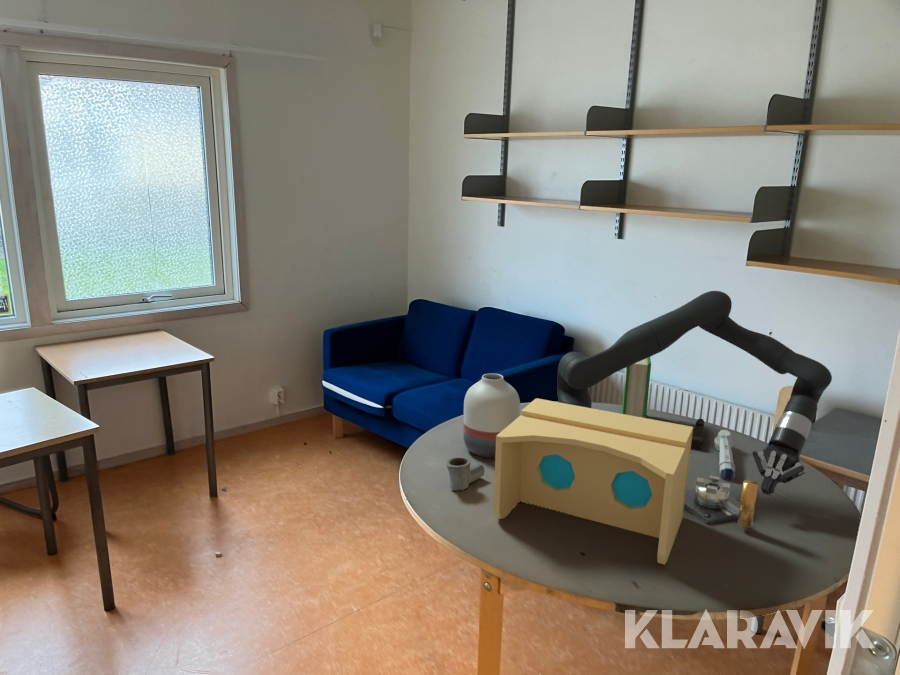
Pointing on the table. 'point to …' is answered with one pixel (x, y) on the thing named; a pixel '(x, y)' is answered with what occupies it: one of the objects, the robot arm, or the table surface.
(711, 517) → the hub plate
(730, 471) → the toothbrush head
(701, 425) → the hand tool
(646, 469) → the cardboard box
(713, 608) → the table surface
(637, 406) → the hardback book
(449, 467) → the pipe
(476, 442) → the vase
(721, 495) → the crank handle
